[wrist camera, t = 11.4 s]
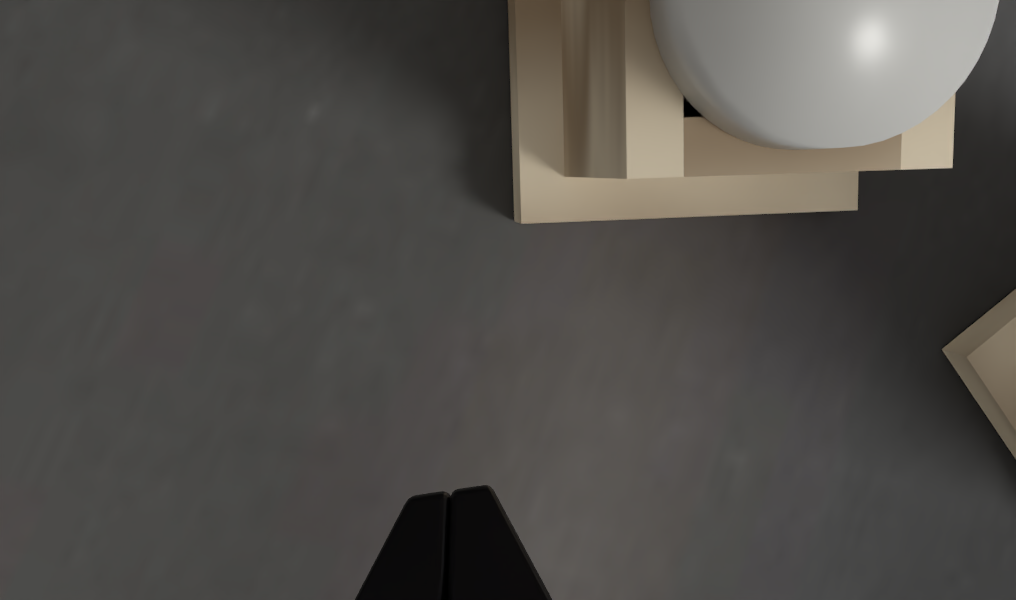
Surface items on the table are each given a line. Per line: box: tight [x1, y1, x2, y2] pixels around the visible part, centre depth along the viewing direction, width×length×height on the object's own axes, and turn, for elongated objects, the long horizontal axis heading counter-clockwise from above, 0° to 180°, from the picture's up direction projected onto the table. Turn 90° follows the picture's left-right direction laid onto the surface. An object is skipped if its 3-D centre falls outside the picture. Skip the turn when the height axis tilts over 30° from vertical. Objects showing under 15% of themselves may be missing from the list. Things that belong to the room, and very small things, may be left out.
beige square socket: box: [508, 0, 955, 224], centre depth 19 cm, size 8×8×6 cm
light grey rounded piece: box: [649, 0, 999, 150], centre depth 17 cm, size 5×5×6 cm
